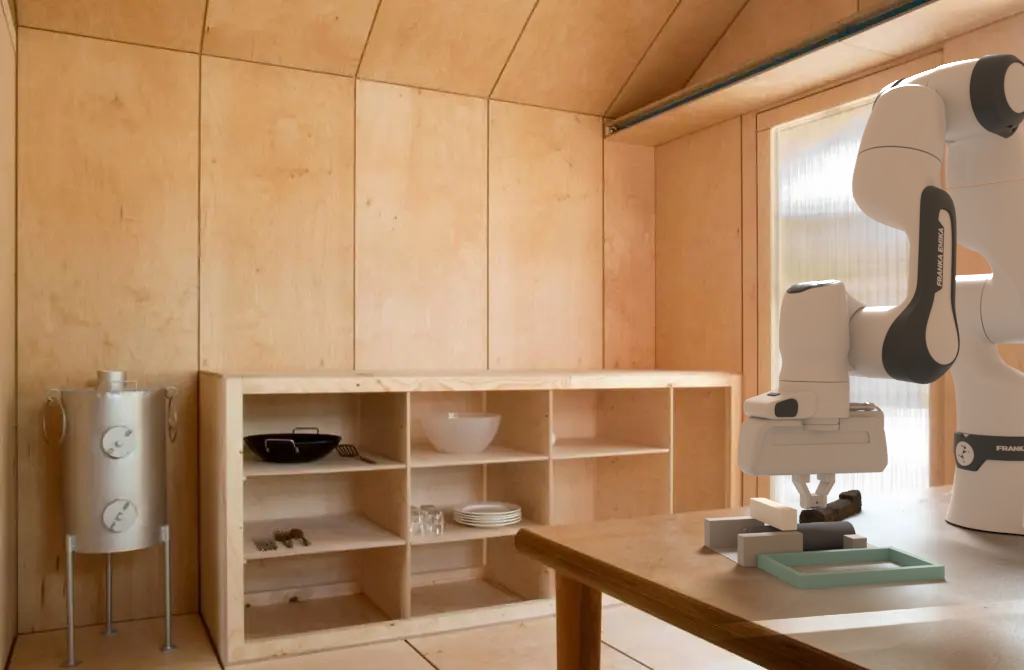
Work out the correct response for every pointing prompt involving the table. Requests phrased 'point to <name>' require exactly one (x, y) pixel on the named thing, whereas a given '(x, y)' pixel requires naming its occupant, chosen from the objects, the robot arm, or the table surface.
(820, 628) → the table surface
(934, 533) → the table surface
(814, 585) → the tray
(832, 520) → the hand tool
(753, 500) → the cream square beam
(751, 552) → the cradle
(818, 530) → the dark grey cylinder
